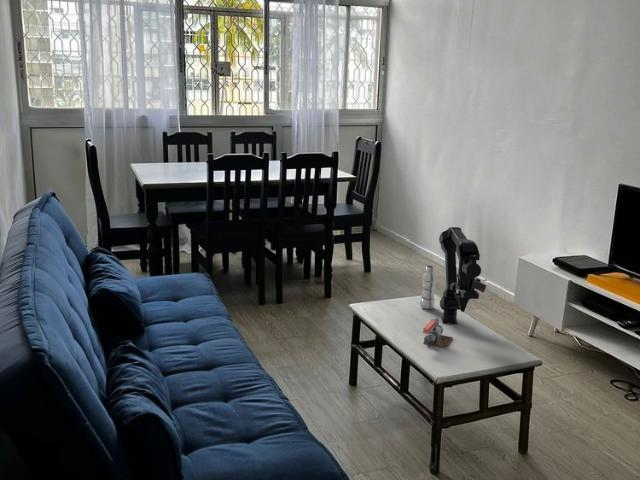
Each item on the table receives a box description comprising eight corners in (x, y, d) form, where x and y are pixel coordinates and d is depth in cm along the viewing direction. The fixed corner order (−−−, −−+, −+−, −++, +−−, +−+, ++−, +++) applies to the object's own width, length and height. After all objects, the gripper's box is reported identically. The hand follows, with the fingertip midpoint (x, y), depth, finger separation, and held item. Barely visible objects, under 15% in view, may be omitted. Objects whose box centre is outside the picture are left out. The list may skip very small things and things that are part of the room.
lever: (439, 323, 250) (440, 318, 250) (429, 334, 240) (429, 329, 239) (432, 322, 252) (432, 316, 251) (421, 333, 241) (421, 327, 241)
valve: (431, 333, 258) (432, 318, 256) (453, 338, 254) (454, 323, 252) (422, 344, 248) (423, 329, 246) (444, 349, 244) (446, 333, 242)
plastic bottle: (426, 304, 290) (429, 263, 284) (437, 308, 285) (440, 267, 279) (416, 307, 286) (419, 266, 280) (428, 312, 281) (431, 269, 275)
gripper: (493, 278, 239) (490, 317, 241) (477, 269, 257) (474, 306, 259) (465, 277, 238) (462, 317, 240) (451, 268, 256) (448, 305, 258)
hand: (462, 311), depth 249 cm, fingers closed
